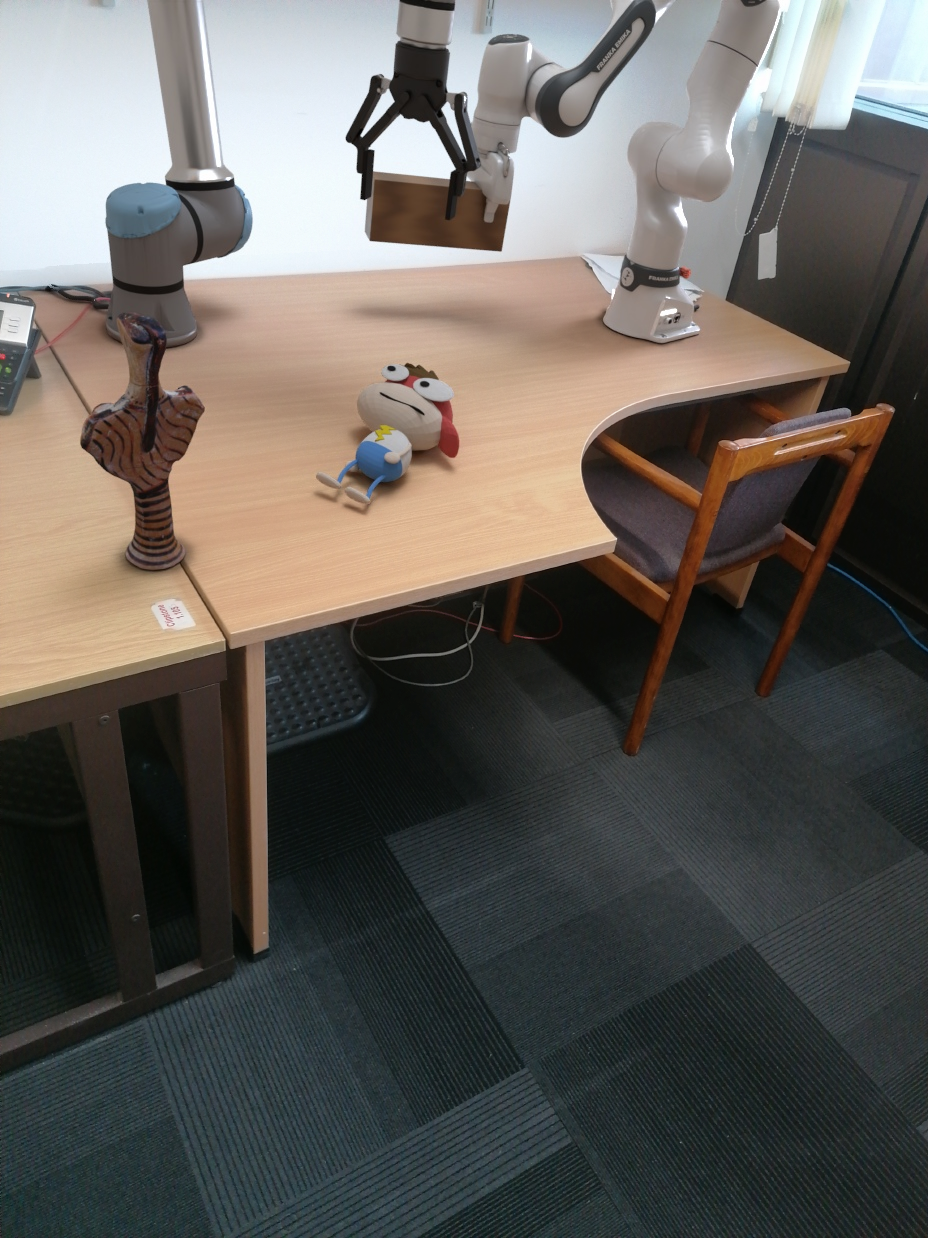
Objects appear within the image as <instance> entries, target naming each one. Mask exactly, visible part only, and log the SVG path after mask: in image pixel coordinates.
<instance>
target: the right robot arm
mask: <svg viewBox="0 0 928 1238" xmlns="http://www.w3.org/2000/svg"><path fill="white" fill-rule="evenodd" d="M676 1H677V0H609V3H610V8H611V11H612V17H611V21H610V23H609V25H608V27H607V28H606V30H605V31H604V32H603V33H602V35H601V36H600V37H599V38H598V40H597V41H596V42H595V44H594V45H593V46H592V47H591V48H590V50H589V51H588V52H587V53H586V55H585V56H584V57H583V58H582V59H581V61H580V62H579V63H577V64H576V65H573V66H572V67H569V68H566V67H564V66H562V65H560V64H559V63H556V62H555V61H553V60H552V59H551V58H549V57H548V56H546V55H545V54H543V53H542V51H540V50H539V48H537V46H535V45H534V43H533V42H532V41H531V38H529V37H528V36H526V35H524V34H515V33H505V34H499V35H496V36H494V37H492V38H491V39H490V40H489V41H488V42H487V44H486V46H485V49H484V52H483V56H482V58H481V59H482V60H481V63H480V70H479V74H478V81H477V103H476V106H475V109H474V112H473V116H472V117H473V118H472V121H470V123H471V127H472V130H473V134H474V138H475V142H476V145H477V149H478V153H479V157H480V160H481V166H480V168H478V169H477V170H475V171H469V172H468V173H467V178H468V179H469V181H472V182H475V183H476V184H477V185H478V186H479V187H480V188H481V189H482V193H483V194H484V195H485V196H486V197H487V199H486V203H487V204H486V208H485V210H484V212H483V220H484V221H485V222H490V223H491V222H493V219H494V213H495V211H496V209H497V207H498V204H508V203H509V201H510V202H511V200H510V199H512V194H511V193H512V192H513V184H514V178H515V177H514V176H515V162H514V159H513V158H512V157H511V155H510V154H513V153H516V152H517V149H518V142H519V135H520V132H521V124H522V120H523V119H524V118H531V119H532V120H533V121H534V122H535V123H538V124H539V125H541V126H542V127H543V128H544V129H545V130H546V131H547V132H548V133H549V134H550V135H551V136H554V137H556V138H561V139H565V138H570V137H573V136H576V135H577V134H579V133H580V132H581V131H583V130H584V129H585V127H586V126H587V125H588V124H589V122H590V121H591V119H592V117H593V116H594V113H595V112H596V109H597V107H598V104H599V103H600V101H601V98H602V97H603V95H604V94H605V93H606V91H607V90H608V89H609V87H610V86H611V85H612V83H613V82H614V81H615V80H616V78H618V76H619V75H620V73H621V72H622V71H623V70H624V69H625V68H626V66H627V65H628V64H629V62H630V61H631V60H632V59H633V58H634V56H635V55H636V54H637V52H639V50H640V49H641V47H642V46H643V45H644V43H645V42H646V40H647V39H648V38H649V36H650V34H651V32H652V31H653V29H654V27H655V26H656V25H657V23H658V21H660V19H661V18H662V17H663V16H664V14H666V12H667V11H668V10H669V9H670V8H671V7H672V6H673V5H674V4H675V2H676ZM719 3H720V5H719V12H718V14H717V15H718V16H717V18H716V21H715V22H716V23H715V24H714V26H713V28H712V30H711V31H710V34H709V36H708V38H707V39H706V42H705V43H704V45H703V47H702V50H701V51H700V54H699V56H698V58H697V59H696V62H695V64H694V66H693V68H692V70H691V72H690V74H689V76H688V79H687V81H686V83H685V95H686V98H687V100H688V114H687V118H686V121H685V124H684V127H682V126H679V125H676V124H674V123H671V122H667V121H648V122H644V123H643V124H641V125H640V126H638V127H637V128H636V130H635V131H634V132H633V134H632V136H631V138H630V139H629V142H628V145H627V152H626V155H627V161H628V165H629V167H630V169H631V171H632V175H633V181H634V190H635V192H634V194H635V210H634V211H635V213H634V221H633V226H632V230H631V236H630V239H629V244H628V248H627V251H626V254H625V255H624V256H623V260H622V261H621V266H620V271H619V272H620V274H619V276H620V277H619V278H618V281H617V284H616V287H615V289H614V288H612V293H611V301H610V303H609V306H607V307H606V310H605V313H604V316H603V317H602V321H603V323H604V325H605V326H607V327H608V328H610V329H611V330H613V331H615V332H617V333H620V334H621V335H622V334H623V335H625V336H629V337H632V338H638V339H641V340H647V341H651V342H654V343H657V344H665V343H669V342H674V341H677V340H680V339H685V338H688V337H692V336H696V335H699V334H700V332H701V328H700V326H699V325H697V323H695V322H694V321H693V317H694V313H695V311H696V310H698V309H700V304H695V305H694V301H693V300H692V298H691V297H690V296H689V294H688V293H687V292H686V290H684V288H683V287H682V285H681V284H680V282H681V277H682V278H683V279H685V280H687V279H689V278H690V277H691V275H692V270H691V269H690V268H687V267H686V266H682V267H681V266H680V260H681V257H682V253H683V250H684V247H685V243H686V239H687V236H688V233H689V231H688V230H689V225H688V221H687V218H686V216H685V214H684V210H683V203H682V198H683V199H685V200H687V201H691V202H698V203H699V202H700V203H711V202H714V201H716V200H717V199H719V198H721V196H723V194H725V192H726V191H727V190H728V188H729V187H730V185H731V182H732V180H733V177H734V172H735V160H734V157H733V154H732V153H733V152H732V145H731V144H732V143H731V142H732V135H733V129H734V125H735V121H736V118H737V114H738V112H739V110H740V107H741V105H742V103H743V100H744V99H745V96H746V94H747V92H748V90H749V88H750V86H751V84H752V82H753V80H754V78H755V76H756V74H757V73H758V71H759V68H760V66H761V64H762V62H763V60H764V58H765V56H766V54H767V51H769V50H768V49H769V47H770V45H771V42H772V40H773V38H774V35H775V32H776V29H777V26H778V23H779V20H780V16H781V5H780V3H779V0H720V2H719ZM466 160H467V159H466Z"/></svg>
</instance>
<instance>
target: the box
mask: <svg viewBox="0 0 928 1238" xmlns="http://www.w3.org/2000/svg"><path fill="white" fill-rule="evenodd" d="M449 182H450V178H443V177H432V176H425V175H423V176H422V175H414V174H404V173H394V172H383V171H374V170H373V181H372V194H371V197H370V198H368V199H366V206H365V207H366V208H365V220H364V222H365V223H364V233H365V235H366V237H367V239H368V241H369V242H373V243H374V242H376V243H387V244H398V245H411V246H413V245H414V246H423V247H424V246H426V247H438V248H451V249H463V250H473V251H474V250H476V251H487V252H500V253H501V252H503V248H504V247H503V246H504V240H505V234H506V228H507V222H508V217H509V211H510V205H511V199H512V198H511V199H510V201H509V203H508V204H498V207H497V209H496V211H495V213H494V219H493V222H491V223H490V222H485V221H484V220H483V212H484V210H485V208H486V204H487V203H486V199H487V197H486V196H485V195H484V194H483V193H482V189H481V188H480V187H479V186H478V185H477V184H476V183H475V182H472V181H471V180H466V186H465V192H464V194H463V195H462V196H461V197H458V198H457V205H456V213H455V217H454V218H452V219H451V220H450V221H449V220H445V215H446V206H447V198H448V190H449ZM511 195H512V193H511Z"/></svg>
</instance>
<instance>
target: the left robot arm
mask: <svg viewBox="0 0 928 1238" xmlns="http://www.w3.org/2000/svg"><path fill="white" fill-rule="evenodd" d="M204 2H205V1H204V0H146V3H147V9H148V15H149V22H150V28H151V35H152V41H153V48H154V54H155V60H156V61H155V62H156V67H157V74H158V80H159V87H160V94H161V101H162V106H163V107H162V108H163V112H164V113H163V114H164V120H165V126H166V133H167V140H168V147H169V153H170V158H171V167H170V168H169V169H168V171H167V172H166V174H164V180H165V184H162V183H160V182H159V183H158V182H146V183H141V182H133V183H129V184H124V185H122V186H118V187H117V188H114V190H112V191H111V192H110V193H109V194H108V196H107V197H106V201H105V218H104V219H105V222H104V224H105V228H106V233H107V240H108V249H109V257H110V258H109V259H110V268H111V277H112V291H111V295H110V300H109V303H107V304H106V303H98V301H97V299H96V298H95V297H93V296H90V295H74V294H70V293H68V292H66V291H64V290H63V289H62V290H59V291H58V292H57V291H56V290H54V289H53V288H50V287H49V286H48V285H47V286H46V287H45V288H44V291H46V292H50V291H52V290H54V291H56V292H57V293H58V294H59V295H60V296H62V297H63V298H65V299H67V300H69V301H70V300H71V301H74V302H75V301H77V302H90V303H92V307H93V308H94V309H97V310H107V311H106V315H105V326H106V328H105V329H106V332H107V334H108V335H109V336H110V337H111V338H112V339H114V340H116V341H117V342H120V343H122V341H121V338H120V334H119V330H118V326H117V321H116V320H117V317H118V316H119V315H120V314H122V313H125V312H134V313H139V314H142V315H144V316H150V317H152V318H154V319H156V320H157V321H158V322H160V324H161V326H162V327H163V328H164V330H165V333H166V337H167V343H166V348H171V347H177V346H182V345H184V344H187V343H189V342H191V341H193V340H194V339H195V338H196V337H197V335H198V324H197V320H196V317H195V315H194V311H193V309H192V306H191V304H190V300H189V298H188V296H187V293H186V290H185V278H184V276H185V275H184V267H185V266H187V265H191V264H197V263H200V262H205V261H208V260H212V259H216V258H217V259H220V258H224V257H227V256H229V255H230V254H232V253H237V252H238V251H240V250H242V249H243V247H244V246H245V245H246V243H248V241H249V239H250V237H251V234H252V230H253V223H254V220H253V210H252V206H251V203H250V200H249V199H248V198H247V197H246V193H245V192H244V190H243V189H242V188H241V187H240V186H238V185H237V184H236V182H235V174H234V173H233V172H232V171H230V169H229V168H227V166H226V165H225V164H224V157H223V149H222V141H221V133H220V124H219V117H218V108H217V99H216V92H215V84H214V75H213V69H212V68H213V66H212V59H211V58H212V57H211V51H210V43H209V35H208V26H207V19H206V17H207V16H206V10H205V3H204ZM455 9H456V0H398V11H397V24H396V32H395V34H396V36H397V37H398V38H399V40H398V41H397V42H396V43H395V45H394V46H395V48H394V58H393V75H392V78H391V79H389V78H387V77H385V76H384V75H383V74H382V73H378V74H374V75H372V76H371V77H370V81H369V86H368V92H367V94H366V96H365V98H364V100H363V102H362V103H361V106H360V107H359V110H358V112H357V114H356V115H355V117H354V119H353V121H352V123H351V125H350V127H349V129H348V131H347V133H346V135H345V141H346V143H347V144H350V145H353V146H354V147H355V148H356V168H355V169H356V173H357V174H360V175H361V181H360V195H359V200H361V201H367V199H368V198H370V197H371V194H372V181H373V171H374V165H375V153H376V151H375V149H371V147H372V145H373V144H374V143H375V142H376V140H377V139H379V137H380V136H381V135H382V134H383V133H384V132H385V131H386V130H387V129H388V128H389V127H390V125H392V123H394V121H395V120H396V119H397V118H398V117H400V116H401V117H403V119H406V120H415V121H417V122H419V123H423V124H424V123H427V122H429V123H430V126H431V127H432V129H434V131H435V132H436V134H437V136H438V138H439V140H440V141H441V144H442V146H443V148H444V149H445V151H446V154H447V155H448V157H449V159H450V161H451V163H452V165H453V166H454V170H452V171H450V175H449V179H450V182H449V190H448V198H447V206H446V215H445V220H449V221H450V220H451V219H452V218H454V217H455V213H456V205H457V198H458V197H461V196H462V195H463V194H464V192H465V186H466V181H467V178H468V177H467V173H468V172H469V171H475V170H477V169H478V168H480V166H481V160H480V157H479V153H478V149H477V145H476V142H475V138H474V134H473V130H472V127H471V120H470V116H469V111H468V101H469V100H468V97H469V95H468V94H467V92H465V91H461V92H449V91H448V87H447V85H448V84H447V83H448V77H449V76H448V74H449V68H450V67H449V66H450V57H451V52H450V50H449V48H447V46H449V45H451V44H452V37H453V30H454V21H455V12H456V10H455ZM388 90H389V93H390V95H391V97H392V99H393V101H394V102H392V104H390V106H389V107H388V108H387V109H386V110H385V112H384V113H383V114H382V115H381V116H380V117H379V119H378V120H376V122H375V123H374V124H373V125H372V127H370V128H369V129H368V131H367V132H366V133H365V134H364V135H363V136H362V133H363V132H364V130H365V129H366V126H367V125H368V123H369V121H370V119H371V117H372V115H373V113H374V111H375V110H376V107H377V106H378V104H379V102H380V100H381V98H382V95H385V94H386V93H387V91H388ZM447 103H448V104H449V107H450V109H451V110H452V111H453V114H454V118H455V123H456V127H457V130H458V134H459V137H460V141H461V144H462V148H463V150H462V148H461V147H460V145H459V143H458V141H457V139H456V137H455V136H454V135H455V134H454V133H453V131H452V129H451V127H450V125H449V123H448V121H447V120H448V119H447V117H446V115H445V113H444V111H443V110H442V109H443V108H444V107H445V105H446V104H447ZM369 148H370V149H369ZM463 151H464V153H463ZM466 159H467V160H466ZM50 284H51V285H52V286H54V287H59V286H58V285H57V284H55V283H50ZM94 299H95V301H94Z"/></svg>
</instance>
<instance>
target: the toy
mask: <svg viewBox="0 0 928 1238" xmlns="http://www.w3.org/2000/svg"><path fill="white" fill-rule="evenodd" d="M380 371H381V372H380V373H381V376H382V377H383V378H384V379H385V381H381V382H374V383H371V384H369V385H368V386H366V387H365V388H363V389H362V390H361V391H360V393H359V395H358V397H357V399H356V404H357V406H356V407H357V412H358V414H359V417H360V418H361V420H362V422H363V424H365V426H366V427H367V428H368V429H369V430H370V431H371V433H369V434H368V435H367V436H365V438H364V439H362V441H361V442H360V443H359V445H358V447H357V449H356V451H355V457H354V459H353V460H348V461H347V462H345V464H344V465H345V466H344V468H343V469H342V470H341V472H340V473H339V475H338V477H337V479H336V478H334V477H333V476H331V475H330V474H327V473H325V472H322V471H318V472H316V474H315V478H316V480H317V482H318V483H319V482H320V483H321V484H322V485H324V486H326V487H328V488H331V489H334V490H339V489H341V488H342V482H343V479H344V477H345V475H346V474H347V473H348V472H350V473H356V472H358V471H360V472H362V474H364V475H365V476H366V477H368V478H369V479H372V480H374V481H373V482H372V483H371V485H370V486H369V488H368V489H367V492H366V494H365V493H363V492H362V491H360V490H359V489H356V488H354V487H352V486H347V487H345V489H344V493H345V494H344V495H346V496H347V497H348V498H350V499H351V500H353V501H354V502H357V503H360V504H364V505H369V504H371V496H372V494H373V491H374V490H375V488H376V487H377V486H378V485H379V483H389V482H391V483H392V482H394V481H396V480H399V479H400V478H401V477H402V476H403V475H405V473H406V472H407V471H408V469H409V468H410V467H409V466H410V464H411V461H412V457H413V451H428V450H431V449H433V448H434V447H438V448H439V450H440V451H441V452H442V453H443V454H444V455H445V456H446V457H448V458H450V459H455V458H456V457H457V456H458V454H459V449H460V437H459V433H458V430H457V428H456V427H455V425H454V423H453V422H454V421H453V420H454V412H453V407H452V404H451V403H452V402H451V400H452V399H453V398H454V397H455V392H454V390H453V388H452V387H451V386H450V385H448V384H447V383H446V382H444V381H442V380H440V378H439V376H438V375H437V373H436V372H435V371H434V370H433V369H430V370H429V371H428V370H427V369H426V368H424V367H423V366H422V365H421V364H417V365H416V366H415V365H413V363H409V362H406V363H405V364H404V365H403V364H398V363H391V364H386V365H385V366H384V367H382V369H381V370H380Z"/></svg>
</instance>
